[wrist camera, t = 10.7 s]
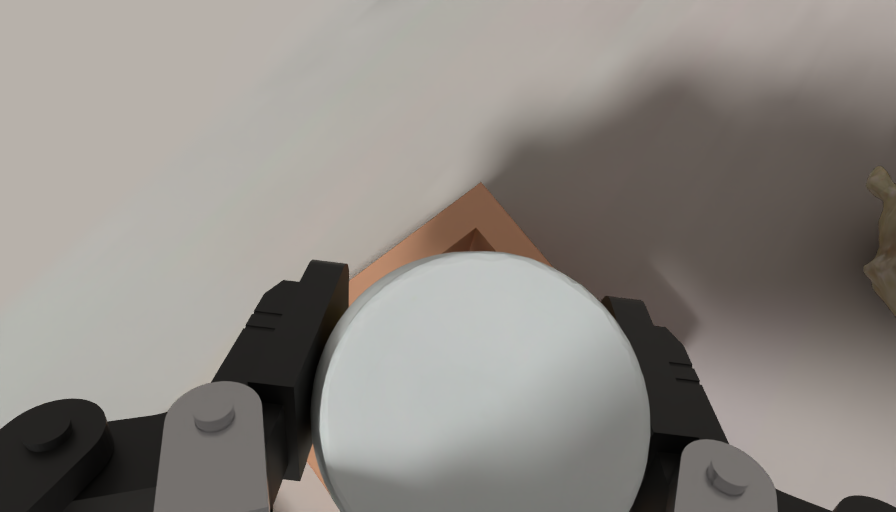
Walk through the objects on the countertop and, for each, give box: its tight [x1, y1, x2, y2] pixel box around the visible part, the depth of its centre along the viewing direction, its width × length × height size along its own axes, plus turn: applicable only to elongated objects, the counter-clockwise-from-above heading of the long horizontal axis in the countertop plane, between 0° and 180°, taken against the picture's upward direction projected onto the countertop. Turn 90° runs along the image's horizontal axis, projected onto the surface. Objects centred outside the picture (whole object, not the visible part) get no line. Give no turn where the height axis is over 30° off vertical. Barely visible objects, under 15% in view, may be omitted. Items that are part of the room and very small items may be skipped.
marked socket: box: [307, 183, 553, 494], centre depth 16 cm, size 9×9×3 cm
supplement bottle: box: [310, 251, 650, 512], centre depth 11 cm, size 5×5×10 cm
